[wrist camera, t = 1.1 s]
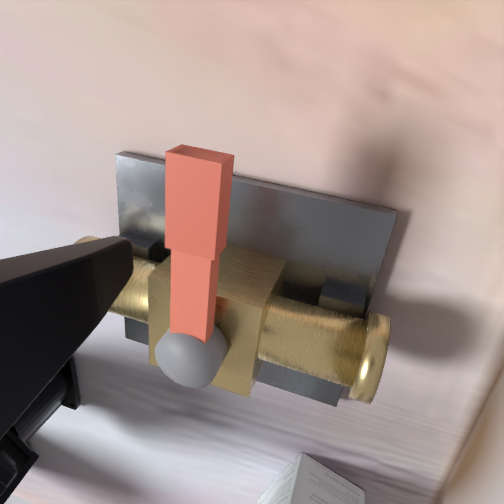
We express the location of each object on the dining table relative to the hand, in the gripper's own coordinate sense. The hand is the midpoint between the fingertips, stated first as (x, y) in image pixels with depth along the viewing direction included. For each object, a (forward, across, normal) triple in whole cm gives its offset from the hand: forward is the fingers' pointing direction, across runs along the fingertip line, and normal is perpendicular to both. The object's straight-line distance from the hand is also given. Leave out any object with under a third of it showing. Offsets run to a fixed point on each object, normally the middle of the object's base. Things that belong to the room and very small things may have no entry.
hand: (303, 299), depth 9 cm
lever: (+7, +6, +5) cm, 10 cm away
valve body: (+13, +6, +9) cm, 17 cm away
